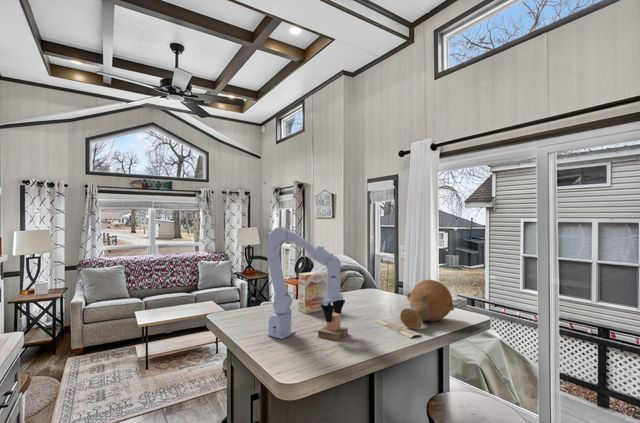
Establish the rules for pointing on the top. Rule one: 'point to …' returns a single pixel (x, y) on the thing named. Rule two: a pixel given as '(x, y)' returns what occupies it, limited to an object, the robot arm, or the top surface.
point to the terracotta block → (334, 322)
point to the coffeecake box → (311, 291)
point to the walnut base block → (333, 333)
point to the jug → (427, 304)
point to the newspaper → (397, 328)
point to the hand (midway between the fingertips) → (333, 319)
